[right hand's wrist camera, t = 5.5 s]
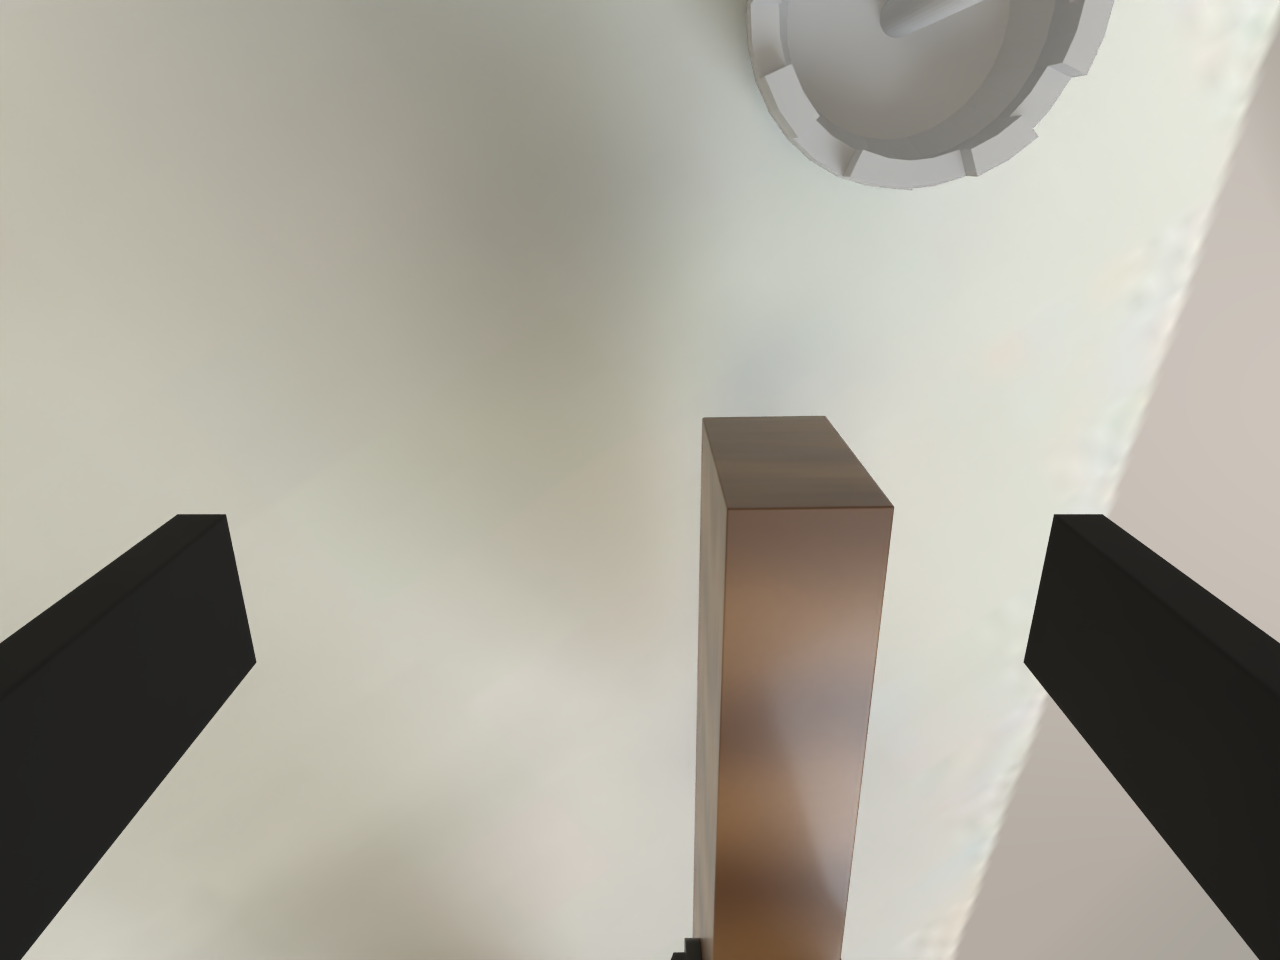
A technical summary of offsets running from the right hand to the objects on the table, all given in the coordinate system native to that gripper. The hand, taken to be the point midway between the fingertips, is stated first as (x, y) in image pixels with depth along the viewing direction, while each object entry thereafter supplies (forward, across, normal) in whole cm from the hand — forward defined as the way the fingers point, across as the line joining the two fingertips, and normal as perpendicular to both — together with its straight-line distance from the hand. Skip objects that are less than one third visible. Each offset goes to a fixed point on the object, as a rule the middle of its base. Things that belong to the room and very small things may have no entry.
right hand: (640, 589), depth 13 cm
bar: (+16, +5, -15) cm, 23 cm away
